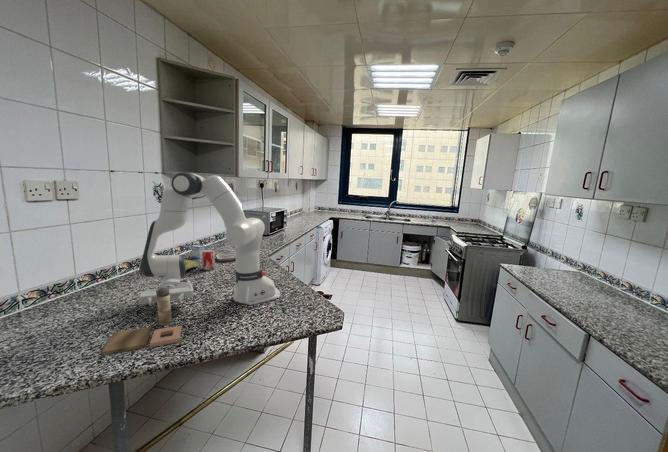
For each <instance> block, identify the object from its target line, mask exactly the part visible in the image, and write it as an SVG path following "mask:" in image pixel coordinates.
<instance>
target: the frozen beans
mask: <svg viewBox="0 0 668 452" xmlns="http://www.w3.org/2000/svg"><path fill="white" fill-rule="evenodd" d="M185 261H186V271H187V270H189V269H192V268H194V267H197V266H199V265H200V266H201V265H203V263H202V262H199V261H196V260H192V259H191V260H189V259H185Z"/></svg>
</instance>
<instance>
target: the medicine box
mask: <svg viewBox="0 0 668 452" xmlns="http://www.w3.org/2000/svg"><path fill="white" fill-rule="evenodd" d="M204 250H205V246H204V245H199V244H194V245H191V258H193V259H197V260H202V253H203V251H204Z"/></svg>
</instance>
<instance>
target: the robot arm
mask: <svg viewBox="0 0 668 452" xmlns="http://www.w3.org/2000/svg"><path fill="white" fill-rule="evenodd" d="M170 185H171V186H170V187H167V188H165V189H164V190H163V192H162V195H161V199H160V211H159V216H158V217H157V219H156V220H154V221H152V222H151V223H150V226H149V230H148V233H147V236H146V240H145V246H144V250H143V253H142V257H141V259H140V262H139V266H138V270H139V273H140V274H141V275H142V276H144V277H145V278H154V277H163V278H162V279H161V282H160V283H159V286H158V288H153V289H152V288H151V289H146V290H143V291H142V292H141V293H140V294H139V296H138V304H140V305H147V304H149V306H150V307H153V306H155V303H156V304H157V295H156V290H158V289H161V288H169V293H170V302H171V301H175V302H176V303H181V301H182V300H185V299H191V298H193V297H194V288H193V287H194V286H193V284H192V283H191V280H188V279H187V280H185V279H184V280H183V278H184V277H185V275H186V272H187V270H186V261H185V260H186V259H185V258H184V257H183V256H182V255H180V254H178V255H177V254H170V255H169V254H167V255H163V254H162V255H157V254H155V252H156V248H157V247H156V246H157V244H158V239H159V238H160V236H161V235H163V234H166V233H169V232H171V231H176V230H177V229H180V228H182V227H183V226H184V225H185V224H186V223H187V218H188V204H189V202H190V200H196V199H200V198H201V199H202V198H204V197H206V198H208V200H209V201H210V203H211V204H212V206H213V207H214V208H215V210H216V211H217V213H218V214H219V215H220V217H221V219H222V220H223V223H224V226H225V230H226V231H225V238H226V240H227V242H228V243H229V244H230V245H232V246H235V247H237V250H236V251H235V252H236V256H235V270H234V282H235V287H234V294H233V297H232V300H233V301H235V302H237V303H241V304H244V305H249V306H252V305H253V306H254V305H256V304H261V303H264V302H268V301H274V300H278V299H279V298H281V291H280V290H279V289H278V288H277V287H276V286H275V283H274V281H273V280H272V279H271V278H269V277H267V275H266V274H267V273H266V271H265V270H264V269H263V268H262V267H260V252H261V246H262V240H263V235H264V232H265V229H266V227H265V226H266V225H265V223H264V222H263V220H262V219H260V218H258V217H257V218H256V217H248V218H247V217H246V214H245V212H244V209H243V207H244V206H243V203H242V201H240V199H239V197H238V196H237V195H236V193H235V192H234V191H233V189H232V188H231V186H229V184H228V183H227V181H225V180H224V179H223V178H222V177H221V176H220V175H217V174H214V175H209V176H207V177H205V176H202V175H199V174H196V173H193V172H186V171H182V172H178V173H177V174H175V175H173V177H172V179H171V184H170ZM277 298H278V299H277Z"/></svg>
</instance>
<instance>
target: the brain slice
mask: <svg viewBox="0 0 668 452" xmlns="http://www.w3.org/2000/svg"><path fill="white" fill-rule="evenodd" d="M236 252H237V251H231V250H226V251H220V252H219V253H218V254H216V255H215V259H216V260H217V261H218V262H219V263H223V262H226V263H227V262H232V261H234V260H235V261H236V259H235V256H236Z"/></svg>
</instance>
